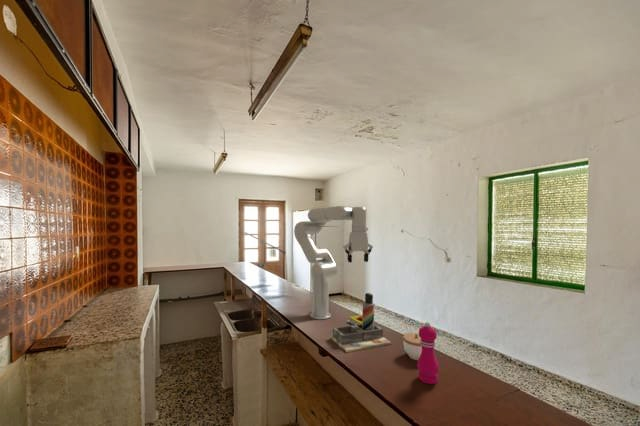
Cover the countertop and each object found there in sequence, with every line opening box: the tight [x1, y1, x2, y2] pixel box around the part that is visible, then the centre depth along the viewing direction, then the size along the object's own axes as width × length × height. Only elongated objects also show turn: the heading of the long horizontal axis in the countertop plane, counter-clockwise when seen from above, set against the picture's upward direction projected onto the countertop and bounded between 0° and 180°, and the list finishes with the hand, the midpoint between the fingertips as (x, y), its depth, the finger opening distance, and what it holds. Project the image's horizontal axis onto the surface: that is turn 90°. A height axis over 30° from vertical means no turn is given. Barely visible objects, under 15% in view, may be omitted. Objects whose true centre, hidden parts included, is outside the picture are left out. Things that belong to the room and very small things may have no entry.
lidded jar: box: [402, 332, 422, 361], centre depth 116 cm, size 11×11×9 cm
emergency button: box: [347, 314, 362, 325], centre depth 155 cm, size 9×4×15 cm
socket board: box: [330, 323, 392, 354], centre depth 131 cm, size 16×23×5 cm
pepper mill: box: [416, 321, 440, 385], centre depth 99 cm, size 7×7×20 cm
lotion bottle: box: [361, 292, 375, 331], centre depth 137 cm, size 6×6×20 cm
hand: (357, 261), depth 149 cm, fingers open, 9 cm apart
